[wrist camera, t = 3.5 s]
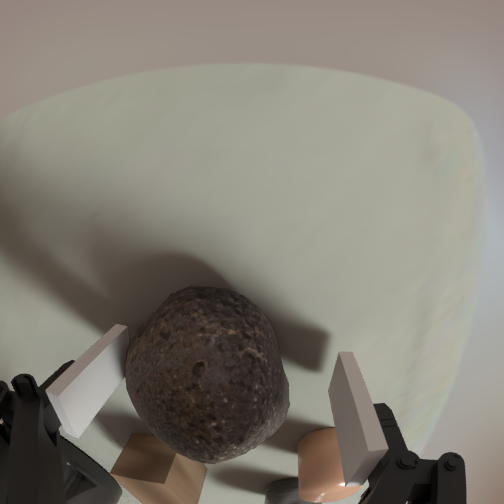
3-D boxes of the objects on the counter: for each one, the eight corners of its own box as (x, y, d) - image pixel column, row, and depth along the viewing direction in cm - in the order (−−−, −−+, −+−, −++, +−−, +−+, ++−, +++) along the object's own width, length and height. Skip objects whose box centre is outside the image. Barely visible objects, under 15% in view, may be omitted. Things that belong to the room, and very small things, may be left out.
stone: (226, 388, 20) (330, 446, 12) (124, 421, 14) (204, 527, 7) (218, 265, 19) (347, 280, 12) (95, 278, 14) (155, 327, 6)
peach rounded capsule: (293, 457, 17) (293, 503, 12) (302, 427, 16) (305, 479, 11) (342, 456, 16) (350, 500, 12) (358, 426, 16) (370, 474, 11)
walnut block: (159, 465, 19) (142, 503, 14) (132, 432, 18) (109, 473, 13) (207, 468, 18) (195, 512, 13) (183, 435, 17) (164, 484, 12)
